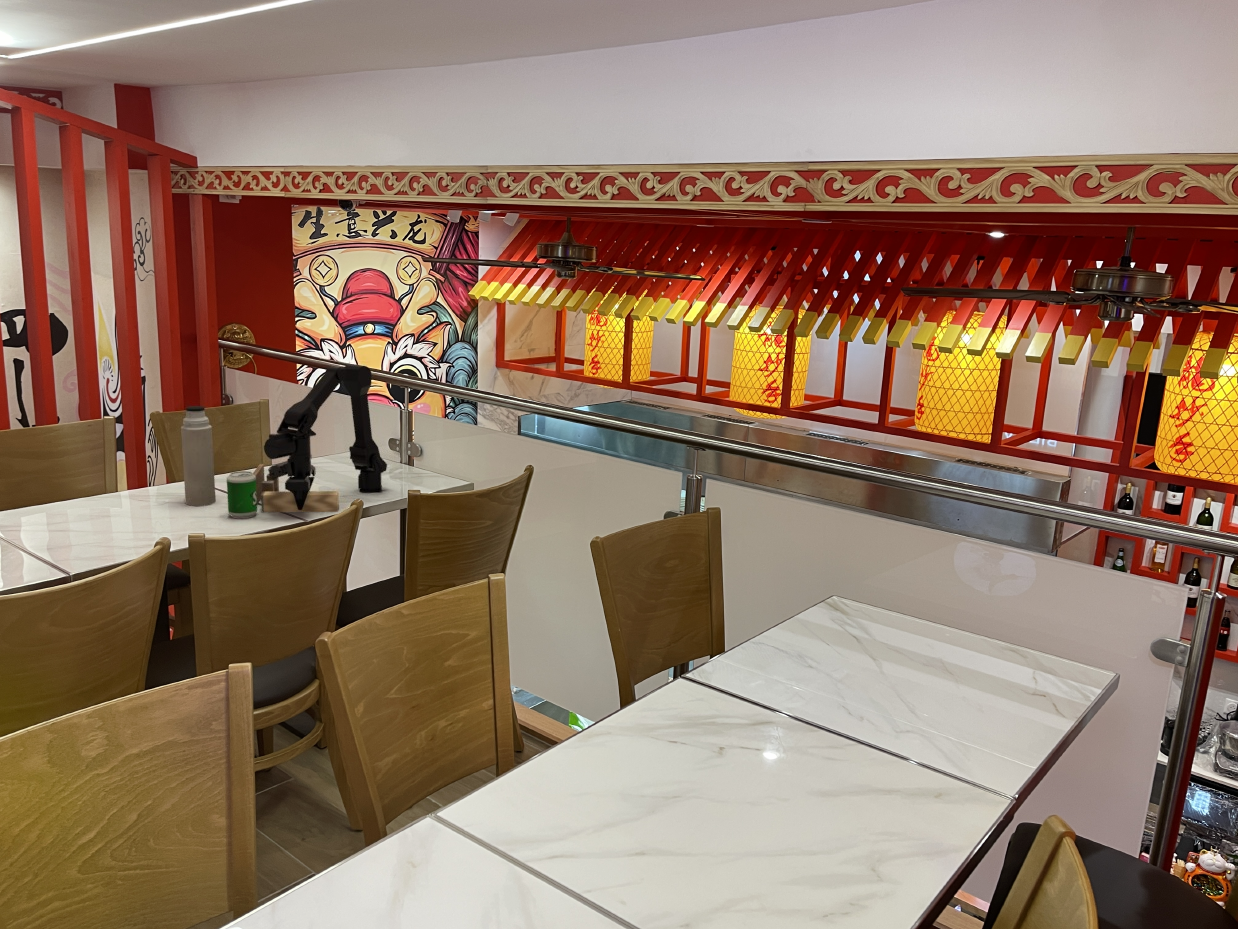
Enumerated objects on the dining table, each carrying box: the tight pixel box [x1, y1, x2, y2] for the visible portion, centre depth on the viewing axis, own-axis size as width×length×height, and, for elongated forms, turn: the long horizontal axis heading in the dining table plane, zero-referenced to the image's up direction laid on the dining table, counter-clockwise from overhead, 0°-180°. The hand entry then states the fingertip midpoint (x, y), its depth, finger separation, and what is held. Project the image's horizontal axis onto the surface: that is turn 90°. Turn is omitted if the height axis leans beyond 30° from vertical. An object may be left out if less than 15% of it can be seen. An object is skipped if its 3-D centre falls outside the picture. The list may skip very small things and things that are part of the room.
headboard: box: [252, 463, 280, 506], centre depth 278 cm, size 6×16×9 cm, turn 11°
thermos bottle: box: [180, 405, 217, 507], centre depth 270 cm, size 8×8×28 cm
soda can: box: [226, 470, 258, 519], centre depth 261 cm, size 8×8×12 cm
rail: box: [260, 490, 340, 513], centre depth 270 cm, size 21×4×5 cm, turn 101°
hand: (301, 506), depth 270 cm, fingers open, 7 cm apart
